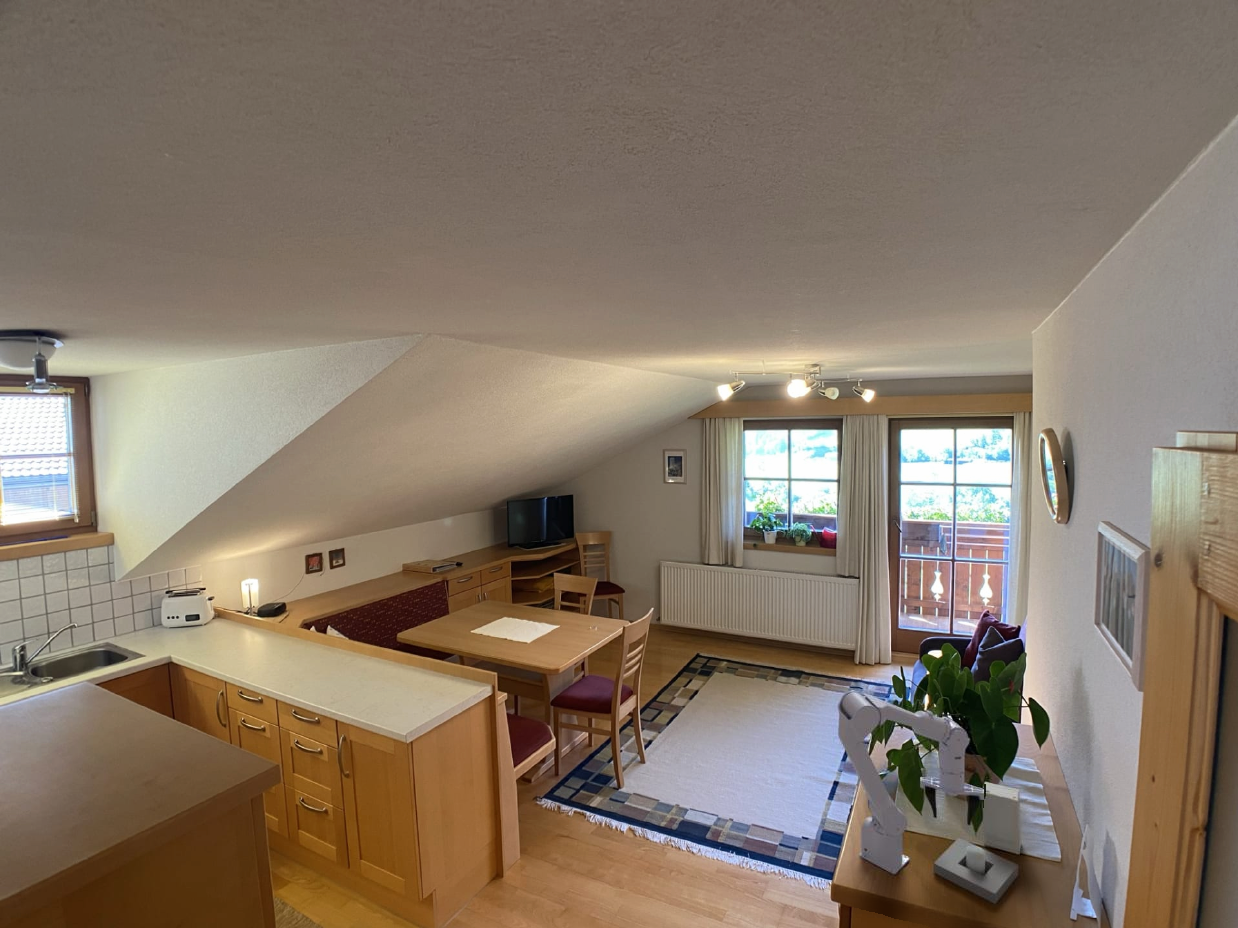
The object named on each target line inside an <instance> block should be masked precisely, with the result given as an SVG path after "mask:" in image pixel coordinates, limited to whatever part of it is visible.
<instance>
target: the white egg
mask: <svg viewBox="0 0 1238 928" xmlns="http://www.w3.org/2000/svg"><path fill="white" fill-rule="evenodd" d="M973 845H974V844H973ZM973 845H970V846H967V848H966V865H965V867H966V868H968V869H970V870H972V871H974V872H976V873H978V874H980V875H982V876H985V874H986V870H985V852H984V850H985V849H984V848H983V847H982V848H981V847H980V846H977V845H976V846H973ZM983 849H984V850H983Z"/></svg>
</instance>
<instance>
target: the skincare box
mask: <svg viewBox="0 0 1238 928" xmlns="http://www.w3.org/2000/svg"><path fill="white" fill-rule="evenodd" d="M984 784H986V797H985V799H984V808H983V807H982V818H983V820H982V821H983V839H984V840H983V842H984V843H983V844H984V845H985V846H988V847H992V848H995V849H999V850H1002V851H1006V852H1009V853H1012V854H1016V855H1020V853H1021V845H1022V825H1021V803H1020V801H1021V800H1020V799H1021V798H1020V789H1018V788H1015V787H1014V788H1013V787H1008V786H1005V785H1001V784H996V783H991V782H988V781H984Z"/></svg>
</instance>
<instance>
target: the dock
mask: <svg viewBox="0 0 1238 928" xmlns="http://www.w3.org/2000/svg"><path fill="white" fill-rule="evenodd" d="M970 845H973V846H977V845H975V844H973V843H971V842H969V841H967V840H964V839H962V838H960V837H958V838H956V840H955V841H954V842H953V843H952V844H951V845H950V846H949V847H948V848H947V849H946V850H945V851H944V852H943V853H942V854H941V855H940V856H939V857H938V858H937V859H936V860H935V861H934V863H933V873H934V874H936V875H937V876H940V877H941V878H944V879H946V880H947V881H949V882H951V883H954V884H955V885H957V886H959V887H961V888H963V889H965V890H968V891H969V892H971V893H973V894H974V895H976V896H979V897H980V898H982V899H984V900H985V901H988V902H991V903H992V904H994V905H996V903H998V901H999V900H1000V899H1001V898H1002V896H1003V895H1004V894H1005V892H1006V891H1007V890H1008V889H1009V887H1010V886H1011V885H1012V884H1013V882H1014V881H1015V880H1016V878H1017V877H1018V876H1019V864H1018V863H1015V862H1013V861H1010V860H1008V859H1007V858H1004V857H1002V856H1000V855H997V854H995V853H993V852H991V851H989V850H987V849H985V848H982V849H983V850H984V852H985V876H982V875H980V874H978V873H976V872H974V871H972V870H970V869H968V868H966V848H967V846H970ZM986 871H987V872H986Z"/></svg>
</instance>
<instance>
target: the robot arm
mask: <svg viewBox="0 0 1238 928" xmlns="http://www.w3.org/2000/svg"><path fill="white" fill-rule="evenodd" d="M837 711H838V731H837V735H838V738H839V740H840V742H841V745H842V746H843V748H844V750H845V752H846V754H847V756H848V758H849V760H850V763H851V765H852V766H853V769H854V771H855V772H856V775H857V777H858V779H859V781H860V783H861V785H862V787H863V790H864V791H865V793H864V794H865V797H866V801H867V802H866V806H867V809H868V811H869V812H870V813H871V816H867V817H866V818H865V819H864V821H863V822H862V825H861V828H860V843H861V844H860V846H861V847H860V853H859V857H861V858H862V859H865V860H867V861H868V862H870V863H872V864H874V865H875V866H878V867H879V868H881V869H883V870H885V871H887V872H888V873H891V874H892V875H895V874H897V873H898V872H899V871H900V870H901V869H902V868H903V867H904V866H905V865H906V864H907V863H908V862H910V857H908V856H907V855H904V853H903V833H904V832H905V831H906V830H907V826H908V819H907V817H906V815H905V814H904V813H903V812H902V811H901V810H900V809H899V808H898V806H896V804H895V802H894V800H893V799H892V797H891V796H890V794H889V792H888V791H887V788H886V786H885V784H884V782H883V781H882V777H881V776H880V774H879V771H878V770H877V768H876V766H875V764H874V762H873V760H872V758H871V756H870V754H869V751H868V750H867V748H866V745H865V743H864V740H866V738H868V736H869V735H870V734H871V733H872V732H873V731H874V729H875V728H877V726H878V725H879V726H882V725H883V724H884V723H885V722H886V721H887V720H888V721H892V722H895V723H898V724H903V725H904V726H908V727H911V728H912V731H913V732H914V733H915V735H916V734H917V735H919V736H922V737H926V738H928V739H931V740H933V741H936V742H938V774H939V775H938V777H922V776H920V782H919V784H920V786H919V787H920V788H921V789H924V793H925V794H924V795H925V797H926V798H927V800H928V802H929V805H930V807H931V810H932V814H933V818H935V819H937V815H938V814H937V813H938V812H937V811H938V810H937V799H936V798H937V794H936V793H937V791H942V792H944V793H946V794H947V796H953V797H957V796H958V795H959V796H961V795H962V796H967V813H966V818H967V819H966V821H967V823H966V824H967V826H971V823H972V819H973V817H974V814H975V813H976V811H977V809H978V808H979V806H980V804H981V802H980V800H981V801H982V800H984V789H983V787H982V788H981V787H978V786H975V785H971V784H969V783H966V782H965V754H966V749H967V747H968V745H969V744H970V741H971V738H969V735H968V733H967V731H966V730H965V729H964V728H963V727H962V726H960V725H959V724H958V723H957V722H955V721H954V720H952V719H951V718H949V716H943V717H939V716H937V715H935V714H934V713H933V712H932V711H930V710H928V709H927V710H926V711H923V710H918V711H916V712H912V711H910V710H907V709H904V708H902V707H900V706H897V705H895V704H893V703H890V702H888V701H886V700H883V699H881V698H878V697H876V696H874V695H871V694H868V693H864V692H863V693H861V692H860V691H857V690H848V691H846V692H845V693H844V694H843V695H842V696H841V698H840V700H839V702H838V703H837ZM936 790H937V791H936Z"/></svg>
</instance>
